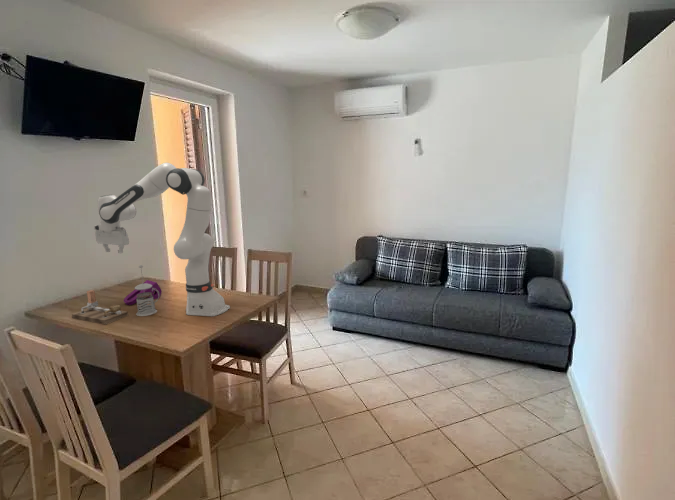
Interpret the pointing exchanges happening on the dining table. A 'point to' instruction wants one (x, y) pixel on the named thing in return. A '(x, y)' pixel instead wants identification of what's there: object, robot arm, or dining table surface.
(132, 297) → the purple curved piece
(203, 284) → the robot arm
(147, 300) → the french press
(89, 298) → the sliding divider leg
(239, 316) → the dining table surface
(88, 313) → the gauge board
